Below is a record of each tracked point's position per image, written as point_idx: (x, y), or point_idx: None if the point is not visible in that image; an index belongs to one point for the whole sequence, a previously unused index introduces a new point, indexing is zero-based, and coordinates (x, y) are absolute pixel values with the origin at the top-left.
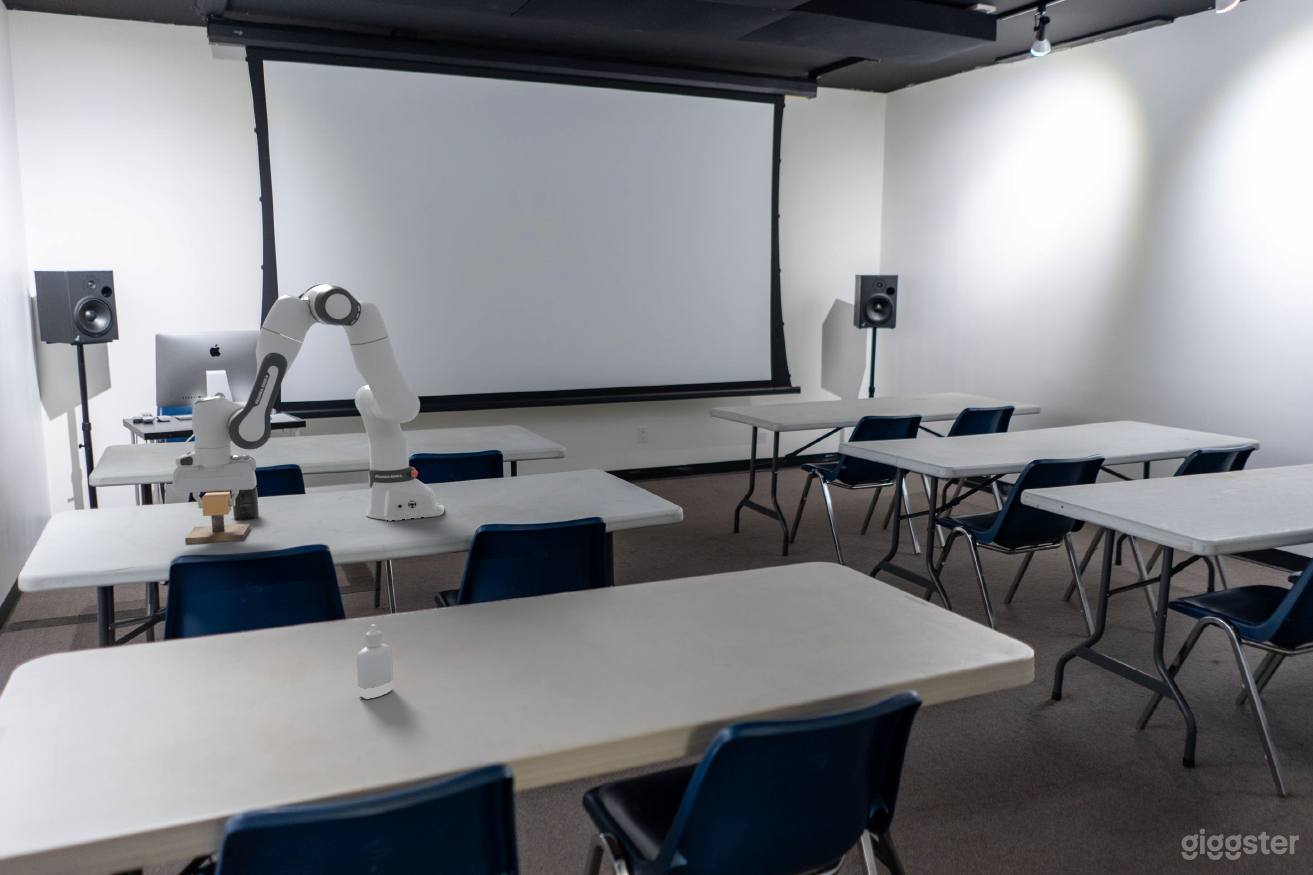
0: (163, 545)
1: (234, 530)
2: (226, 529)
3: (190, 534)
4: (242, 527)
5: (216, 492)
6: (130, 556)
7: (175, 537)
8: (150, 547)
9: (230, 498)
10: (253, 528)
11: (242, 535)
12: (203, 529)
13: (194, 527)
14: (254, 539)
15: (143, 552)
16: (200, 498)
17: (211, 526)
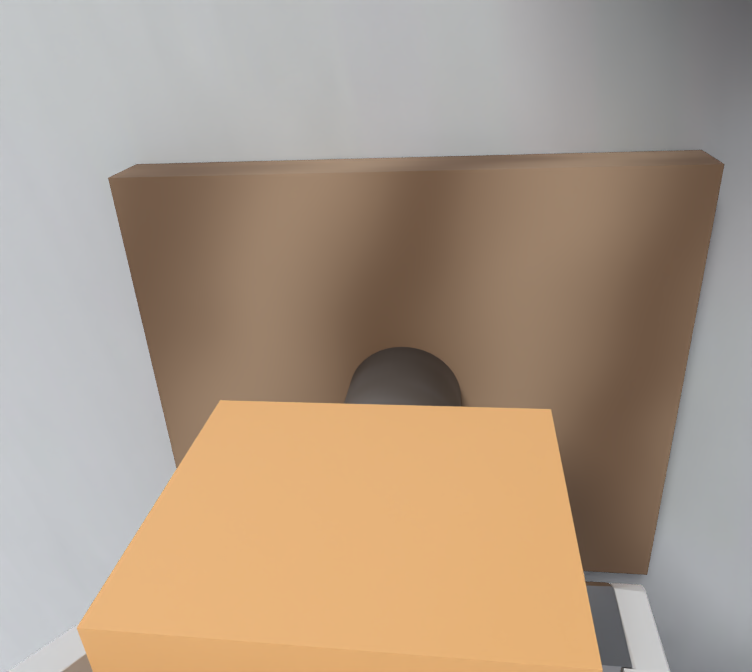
0: (74, 513)
1: (559, 427)
2: (475, 374)
3: None
4: (635, 333)
5: (290, 652)
6: (9, 665)
7: (46, 319)
8: (14, 535)
9: (574, 556)
10: (741, 136)
11: (640, 568)
12: (243, 315)
13: (118, 207)
14: (727, 541)
15: (35, 619)
16: (82, 661)
17: (287, 208)
